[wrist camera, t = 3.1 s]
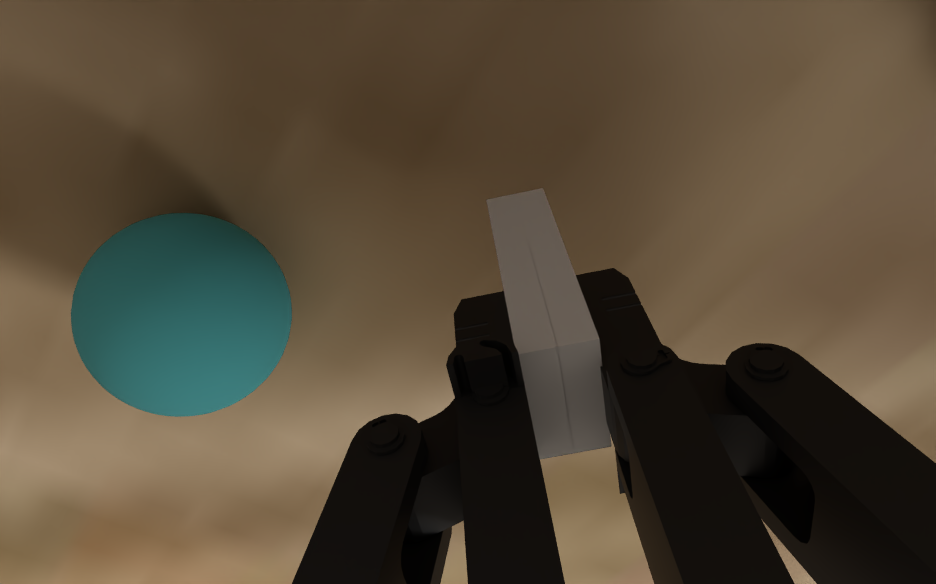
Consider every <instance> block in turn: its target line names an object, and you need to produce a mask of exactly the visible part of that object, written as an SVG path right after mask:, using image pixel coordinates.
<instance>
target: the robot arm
mask: <svg viewBox="0 0 936 584" xmlns="http://www.w3.org/2000/svg"><path fill="white" fill-rule="evenodd" d="M486 201H487V206H488V211H489V216H490V222H491V227H492V232H493V237H494V242H495V247H496V253H497V258H498V263H499V268H500V273H501V279H502V284H503V289H504V291H502V292H497V293H492V294H487V295H482V296H477V297H472V298H467V299H462V300H461V302H460V303H459V305H458V307H457V309H456V311H455V313H454V324H455V338H456V348H455V349H454V350H453V351H452V353H451V354H450V355H449V356H448V360H447V364H446V366H447V370H448V374H449V377H450V381H451V384H452V388H453V392H454V395H455V399H454V400H453V401H452V402H451V404H450V405H449V406H448V407H447V408H445V409H444V410H443V411H442V412H440V413H438V414H437V415H435V416H433V417H431V418H429V419H426V420H424V421H422V422H420V423H418V422H417V421H416V420H415V419H413V418H411V417H410V416H408V415H402V414H390V415H384V416H381V417H378V418H376V419H374V420H372V421H369V422H368V423H367V424H366V425H364V426H363V427H362V428H361V429H359V430H358V432H357V433H356V435H355V437H354V438H353V440H352V442H351V444H350V446H349V449H348V451H347V454H346V456H345V458H344V461H343V463H342V465H341V468H340V470H339V473H338V475H337V477H336V480H335V482H334V485H333V487H332V489H331V492H330V494H329V497H328V499H327V501H326V504H325V506H324V508H323V511H322V513H321V516H320V518H319V520H318V523H317V525H316V528H315V530H314V532H313V535H312V537H311V539H310V542H309V544H308V547H307V549H306V551H305V554H304V556H303V559H302V561H301V563H300V566H299V568H298V571H297V573H296V575H295V578H294V580H293V582H292V584H440V582H441V578H442V574H443V569H444V565H445V560H446V556H447V551H448V547H449V543H450V538H451V534H452V526H453V525H455V524H457V523H459V522H461V521H463V520H464V531H465V546H466V560H467V575H468V584H565V582H564V577H563V572H562V567H561V562H560V557H559V552H558V547H557V542H556V537H555V532H554V527H553V522H552V518H551V513H550V508H549V503H548V498H547V493H546V488H545V483H544V478H543V473H542V468H541V463H540V459H545V458H551V457H556V456H562V455H567V454H573V453H578V452H583V451H589V450H594V449H600V448H605V447H611V438H610V434H611V437H612V440H613V444H614V447H615V453H616V462H617V471H618V480H619V489H620V494H621V493H625V494H626V497H627V500H628V503H629V506H630V509H631V512H632V515H633V519H634V522H635V525H636V528H637V531H638V534H639V537H640V540H641V544H642V547H643V550H644V553H645V556H646V559H647V562H648V565H649V569H650V572H651V575H652V578H653V581H654V584H794V582H793V580H792V578H791V576H790V574H789V572H788V570H787V568H786V566H785V564H784V562H783V561H782V559H781V557H780V555H779V553H778V551H777V549H776V547H775V545H774V543H773V541H772V539H771V537H770V535H769V533H768V531H767V529H766V527H765V525H764V524H763V522H762V520H763V521H764V522H765V524H766V525H767V526H768V527H769V528H770V529H771V531H772V532H773V533H774V534H775V535H776V536H777V538H778V539H779V540H780V541H781V542H782V543H783V545H784V546H785V547H786V548H787V549H788V550H789V552H790V553H791V554H792V555H793V556H794V557H795V559H796V560H797V561H798V562H799V563H800V564H801V566H802V567H803V568H804V569H805V570H806V571H807V573H808V574H809V575H810V576H811V577H812V578H813V580H814V581H815V582H816V583H817V584H936V463H935V462H933V461H932V460H931V459H930V458H928V457H927V456H926V455H925V454H923V453H922V452H921V451H920V450H918V449H917V448H916V447H914V446H913V445H912V444H911V443H909V442H908V441H907V440H906V439H904V438H903V437H902V436H901V435H899V434H898V433H897V432H896V431H894V430H893V429H892V428H891V427H889V426H888V425H887V424H886V423H884V422H883V421H882V420H881V419H879V418H878V417H877V416H876V415H874V414H873V413H872V412H871V411H869V410H868V409H867V408H866V407H864V406H863V405H862V404H860V403H859V402H858V401H857V400H855V399H854V398H853V397H852V396H850V395H849V394H848V393H847V392H845V391H844V390H843V389H842V388H840V387H839V386H838V385H837V384H835V383H834V382H833V381H832V380H830V379H829V378H828V377H827V376H825V375H824V374H823V373H822V372H820V371H819V370H818V369H817V368H815V367H814V366H813V365H812V364H810V363H809V362H808V361H806V360H805V359H804V358H803V357H801V356H800V355H799V354H797V353H795V352H794V351H792V350H790V349H788V348H786V347H782V346H779V345H775V344H763V343H755V344H751V345H746V346H742V347H740V348H738V349H737V350H735V351H733V352H732V353H731V354H730V356H729V357H728V359H727V360H726V365H715V364H699V363H692V362H688V361H684V360H681V359H679V358H678V356H677V355H676V354H675V353H674V352H673V351H672V350H671V349H670V348H668V347H666V346H664V345H662V344H661V342H660V340H659V338H658V336H657V334H656V332H655V330H654V328H653V326H652V324H651V322H650V320H649V318H648V316H647V314H646V312H645V310H644V308H643V306H642V305H641V302H640V300H639V298H638V296H637V294H636V293H635V290H634V288H633V286H632V284H631V282H630V280H629V278H628V277H626V276H625V275H623V274H622V273H620V272H619V271H617V270H616V269H614V268H611V269H606V270H601V271H596V272H591V273H585V274H580V275H575V272H574V270H573V267H572V264H571V262H570V259H569V256H568V254H567V251H566V248H565V246H564V243H563V240H562V237H561V235H560V232H559V229H558V227H557V224H556V221H555V219H554V216H553V213H552V211H551V208H550V205H549V203H548V200H547V197H546V195H545V192H544V189H543V188H540V189H535V190H531V191H526V192H521V193H516V194H511V195H506V196H501V197H496V198H492V199H487V200H486ZM761 519H762V520H761Z"/></svg>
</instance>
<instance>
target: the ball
mask: <svg viewBox="0 0 936 584" xmlns="http://www.w3.org/2000/svg"><path fill="white" fill-rule="evenodd" d="M291 321H292V308H291V298H290V292H289V289H288V286H287V283H286V280H285V277H284V275H283V273H282V271H281V269H280V267H279V265H278V264H277V262H276V261H275V259H274V258H273V256H272V255H271V254H270V253H269V251H268V250H267V249H266V248H265V247H264V246H263V245H262V244H261V243H260V242H259V241H258V240H257V239H256V238H255V237H253V236H252V235H250V234H249V233H248V232H246V231H245V230H243V229H241V228H240V227H238V226H236V225H234V224H232V223H229V222H227V221H225V220H222V219H219V218H216V217H212V216H207V215H203V214H194V213H170V214H163V215H158V216H155V217H151V218H147V219H144V220H141V221H138V222H136V223H134V224H131V225H129V226H128V227H126V228H124V229H123V230H121V231H119V232H118V233H116V234H115V235H113V236H112V237H111V238H110V239H108V240H107V241H106V242H105V243H104V244H103V245H102V246H101V247H100V248H98V250H97V251H96V252H95V253H94V254H93V256H92V257H91V258H90V260H89V261H88V263H87V264H86V266H85V267H84V269H83V271H82V273H81V275H80V277H79V280H78V282H77V285H76V288H75V291H74V294H73V302H72V309H71V324H72V332H73V337H74V341H75V344H76V347H77V350H78V352H79V354H80V357H81V359H82V361H83V363H84V364H85V366H86V368H87V369H88V371H89V372H90V373H91V375H92V376H93V377H94V378H95V379H96V380H97V381H98V383H99V384H100V385H101V386H102V387H103V388H104V389H106V390H107V391H108V392H109V393H110V394H112V395H113V396H115V397H116V398H118V399H119V400H121V401H123V402H124V403H126V404H128V405H130V406H133V407H135V408H137V409H140V410H143V411H146V412H149V413H153V414H158V415H164V416H177V417H178V416H195V415H202V414H207V413H211V412H214V411H217V410H220V409H222V408H225V407H228V406H230V405H232V404H234V403H236V402H238V401H240V400H241V399H243V398H244V397H246V396H247V395H249V394H250V393H251V392H253V391H254V390H255V389H256V388H257V387H258V386H259V385H260V384H261V383H263V382H264V381H265V380H266V379H267V377H268V376H269V375H270V374H271V372H272V371H273V370H274V368H275V367H276V365H277V364H278V362H279V360H280V358H281V356H282V354H283V352H284V350H285V347H286V344H287V341H288V338H289V333H290V327H291Z"/></svg>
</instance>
